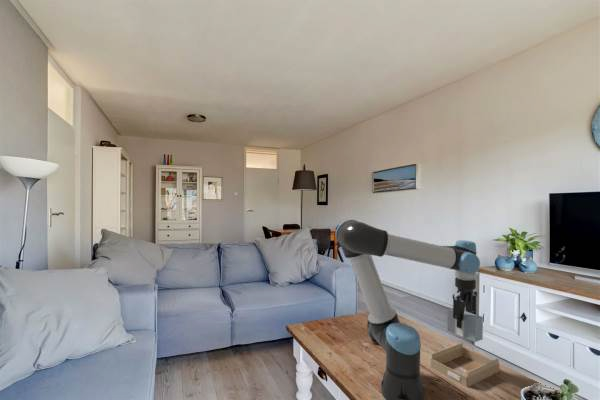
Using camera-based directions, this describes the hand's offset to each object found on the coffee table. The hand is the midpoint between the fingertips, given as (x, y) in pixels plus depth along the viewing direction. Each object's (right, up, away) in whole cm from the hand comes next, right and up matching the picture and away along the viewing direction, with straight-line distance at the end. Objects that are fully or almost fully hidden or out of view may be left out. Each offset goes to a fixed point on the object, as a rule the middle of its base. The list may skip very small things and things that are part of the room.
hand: (464, 333), depth 125 cm
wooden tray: (0, -15, 0) cm, 15 cm away
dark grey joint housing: (-28, -15, +31) cm, 44 cm away
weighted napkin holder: (0, 0, 0) cm, 0 cm away
